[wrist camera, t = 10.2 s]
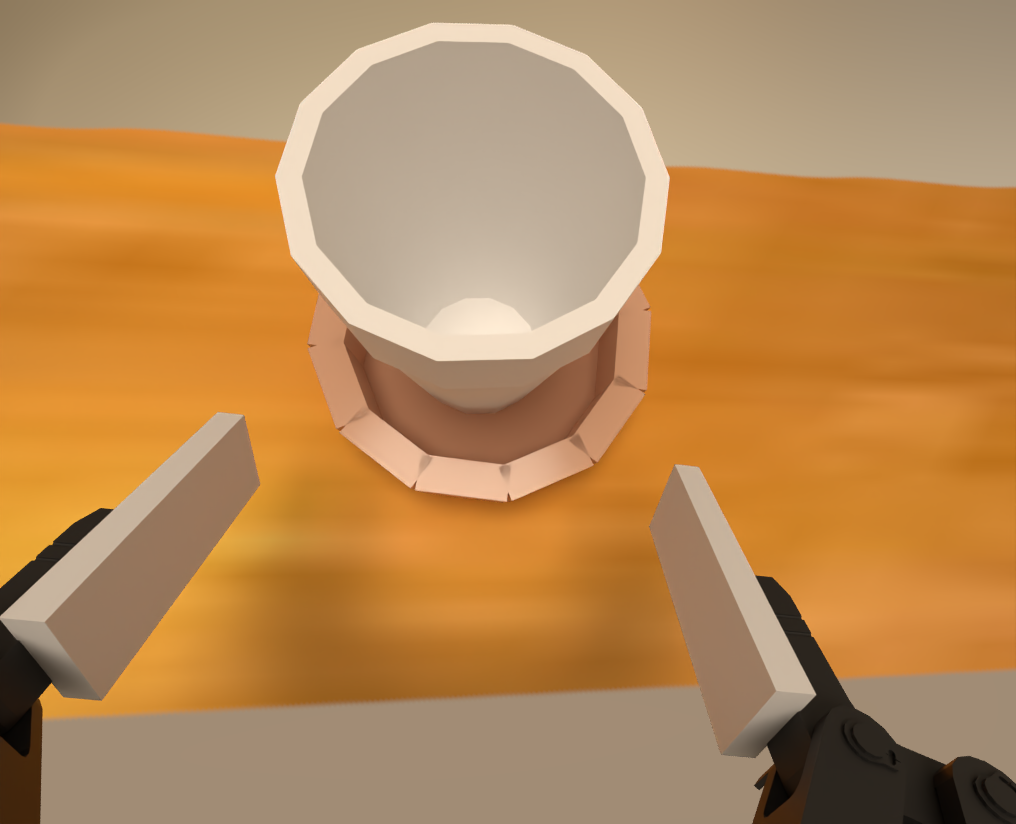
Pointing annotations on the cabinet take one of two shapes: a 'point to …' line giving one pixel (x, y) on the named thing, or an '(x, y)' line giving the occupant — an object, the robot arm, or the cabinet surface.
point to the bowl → (489, 436)
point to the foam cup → (473, 205)
